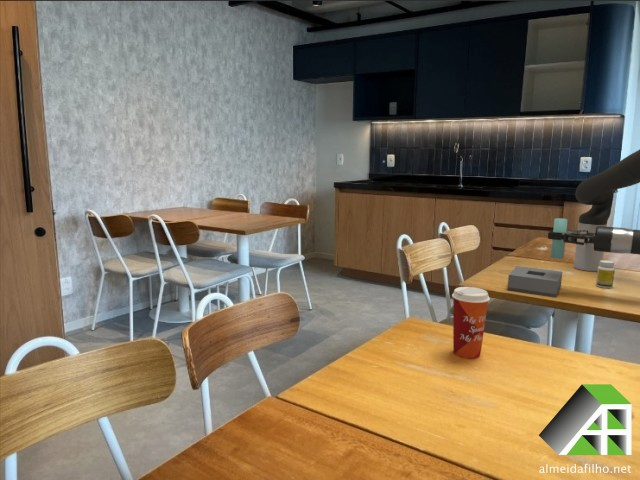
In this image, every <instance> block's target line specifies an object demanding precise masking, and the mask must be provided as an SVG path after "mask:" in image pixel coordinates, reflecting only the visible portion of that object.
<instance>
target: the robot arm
mask: <svg viewBox="0 0 640 480" xmlns="http://www.w3.org/2000/svg"><path fill="white" fill-rule="evenodd" d="M639 183H640V149H638V150H636V151H634V152H632V153H630V154H628V156H626V157H624V158H623V159H621V160H620V161H618V162H616V163H615V164H613V165H612V166H609V167H608V168H607V169H604V171H602V172H600V173H598V174H595V175H593V176H591V177H589V178H586V179H585V180H583V181H581V182H580V183H579V185H577V187H576V189H575V199H576V200H577V202H579V203H580V204H582V205H586V206H591V208H590V209H589V210H587V211H586V212H584V213H581V214H580V215H579V217H578V223H577V225H578V226H577V229H567V230H566V233H565V232H564V233H559V232H553V229H550V230H549V232H547V233H548V235H547V239H548V240H552V239H553V240H561V239H562V240H561V241H563V242H565V244H567V243H568V244H574V245H575V253H574V254H575V255H574V262H573V268H575V269H577V270H579V271H580V270H581V271H587V272H597V271H598V267H599V266H600V261H601V260H604V255H605V254H604V253H610V254H611V253H612V254H623V255H624V254H629V255H630V254H631V255H638V256H640V229H632V228H631V229H630V228H626V227H618V226H617V227H616V226H615V227H614V226H608V220H609V218H610V216H611V213H612V207H613V201H614V197H615V195H614V194H615V190H619V189H624V188H629V187H631V186H632V187H633V186H634V185H638V184H639Z"/></svg>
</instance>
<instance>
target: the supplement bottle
mask: <svg viewBox="0 0 640 480" xmlns="http://www.w3.org/2000/svg"><path fill="white" fill-rule="evenodd" d="M614 267H615V261H612V260H604V259H603V260H601V261H600V266H599V267H598V271H596V272H597V273H596V281H595V285H596V287H597V288H601V289H602V288H603V289H612V288H613V286H614V278H615V268H614Z"/></svg>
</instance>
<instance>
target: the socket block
mask: <svg viewBox="0 0 640 480" xmlns="http://www.w3.org/2000/svg"><path fill="white" fill-rule="evenodd" d="M562 278H563V271H561V270H551V269H545V268H544V269H543V268H535V267H527V266H518V265H516V266H515V267H514V268H513V269H512V271H511V272H510V273H509V274H508V278H507V279H508V280H507V291H509V292H517V293H524V294H530V295H537V296H544V297H549V298H550V297H551V298H557V296H558V294H559V292H560V290H561V288H562V281H563V279H562Z"/></svg>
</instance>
